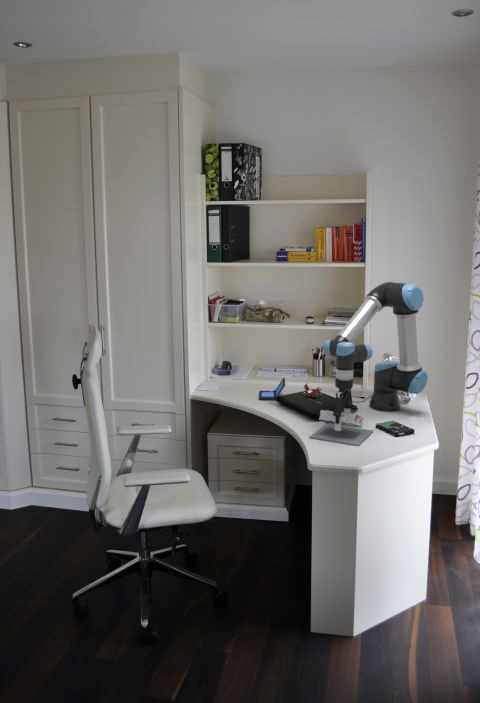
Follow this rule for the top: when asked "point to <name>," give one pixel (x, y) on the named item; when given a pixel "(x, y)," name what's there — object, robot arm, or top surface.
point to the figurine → (312, 391)
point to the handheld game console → (272, 392)
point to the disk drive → (394, 428)
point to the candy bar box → (346, 419)
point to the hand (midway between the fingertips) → (342, 426)
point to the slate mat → (342, 435)
